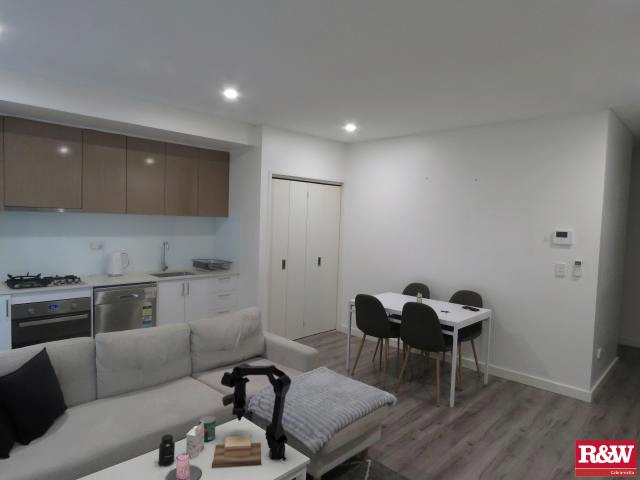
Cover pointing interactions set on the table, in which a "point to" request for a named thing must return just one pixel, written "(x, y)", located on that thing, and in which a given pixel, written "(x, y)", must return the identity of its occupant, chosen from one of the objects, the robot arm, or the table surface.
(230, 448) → the kraft carton
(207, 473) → the table surface
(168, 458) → the supplement bottle
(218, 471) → the table surface
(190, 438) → the ink cartridge box
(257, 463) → the display board
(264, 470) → the table surface
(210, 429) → the canned tomato
